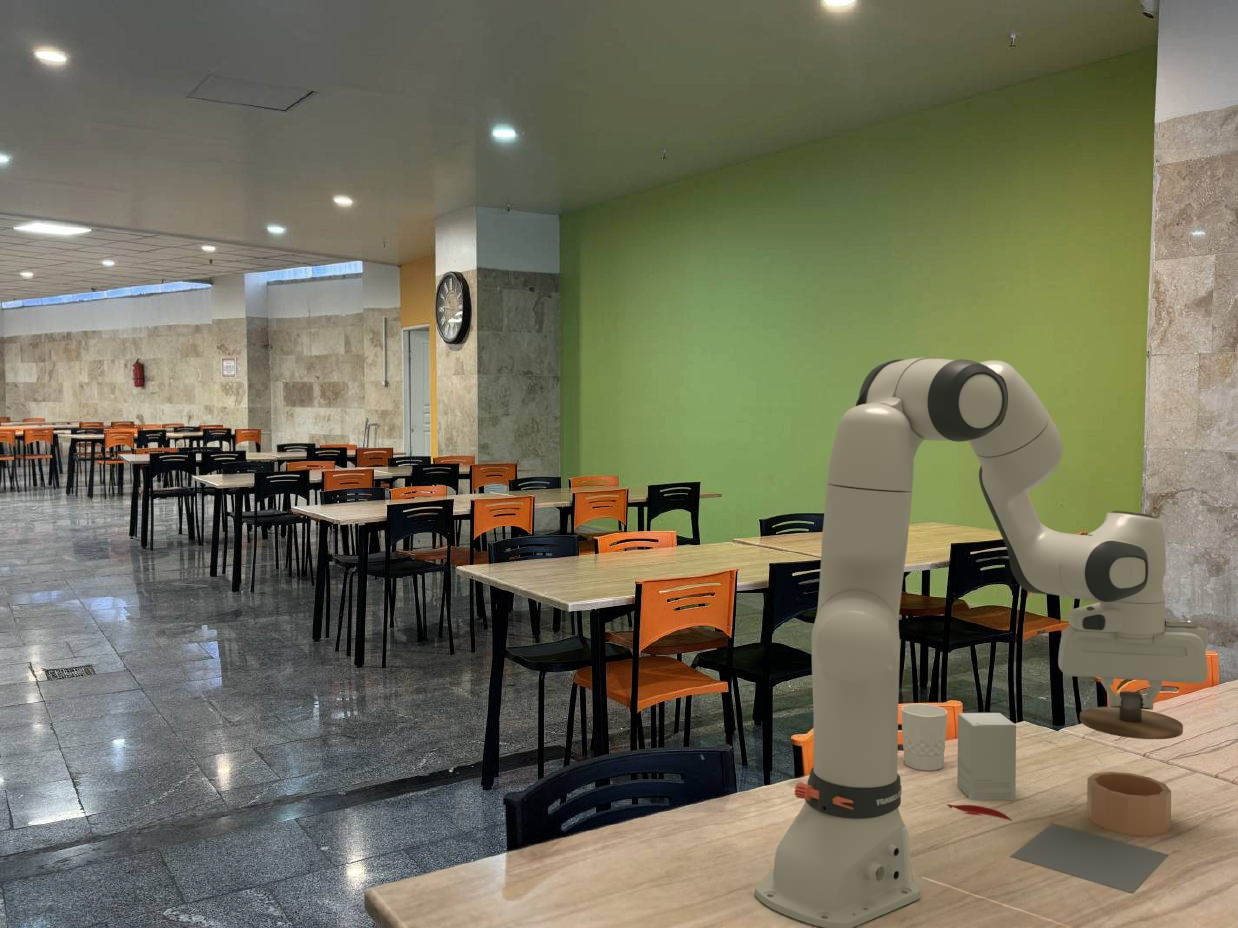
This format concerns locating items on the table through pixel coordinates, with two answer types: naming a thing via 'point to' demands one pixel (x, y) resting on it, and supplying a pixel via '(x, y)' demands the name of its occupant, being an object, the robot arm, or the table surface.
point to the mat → (1091, 857)
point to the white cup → (924, 736)
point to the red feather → (979, 810)
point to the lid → (1131, 720)
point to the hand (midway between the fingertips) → (1130, 707)
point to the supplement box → (986, 756)
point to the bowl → (1129, 803)
